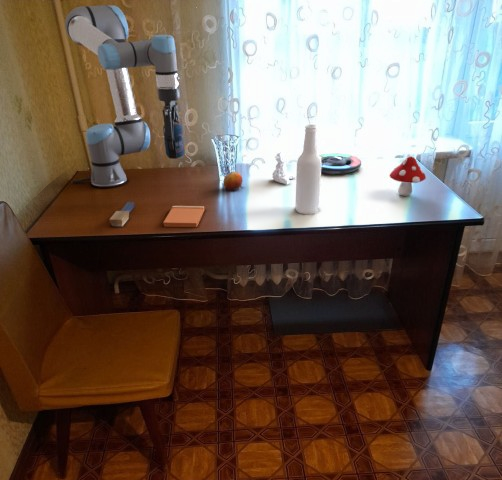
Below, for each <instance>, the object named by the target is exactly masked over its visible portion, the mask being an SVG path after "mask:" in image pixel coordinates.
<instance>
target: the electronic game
mask: <svg viewBox="0 0 502 480" xmlns="http://www.w3.org/2000/svg"><path fill="white" fill-rule="evenodd" d="M318 155H319V157H320V158H321V163H322V165H321V173H324V174H328V175H329V174H331V175H344V174H349V173H352V172H355V171H356V170H358V169H359V168H360V167H361V166H362V161H361V160H360V159H359V158H358V157H357V156H354V155H350V154H346V153H345V154H344V153H323V154H318Z"/></svg>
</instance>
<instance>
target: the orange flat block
mask: <svg viewBox="0 0 502 480" xmlns="http://www.w3.org/2000/svg"><path fill="white" fill-rule="evenodd" d="M204 213H205V206H203V205H172V207H171V209H170V211H169V213H168V214H167V216H166V217H165V219H164V221H163V222H162V223H163V227H165V228H168V227H169V228H170V227H171V228H197V227H198V225H199V223H200V221H201V219H202V217H203V214H204Z"/></svg>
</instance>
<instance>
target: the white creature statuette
mask: <svg viewBox="0 0 502 480" xmlns="http://www.w3.org/2000/svg"><path fill="white" fill-rule="evenodd" d="M274 158H275V161H276V162H277V164H276V165H275V169H274V171H273V172H272V175H271V176H272V177H271V178H272V179H273V180H274V182H276V183H280V184H283V185H289V184H290V181H291V180H294V174H293V173H291V172H288V171H287V166H286V162H287V159H286V156H285V154H284V152H283V151H280V152H278V153H276V155H275V156H274Z"/></svg>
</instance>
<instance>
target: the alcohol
mask: <svg viewBox="0 0 502 480" xmlns="http://www.w3.org/2000/svg"><path fill="white" fill-rule="evenodd" d="M304 128H305V129H304V139H303V140H304V141H303V143H304V144H303V151H302V153H301V154H300V155H299V157H298V158H297V162H296V179H295V180H296V181H295V210H296V212H298V213H299V214H302V215H303V214H304V215H311V214H312V215H313V214H315V213H317V212H318V211H319V209H320V194H321V178H322V172H321V165H322V163H321V158H320V157H319V155H320V154H319V153H318V151H317V150H318V149H317V131H318V130H317V129H318V126H317V125H316V124H306V125H305V127H304Z"/></svg>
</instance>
